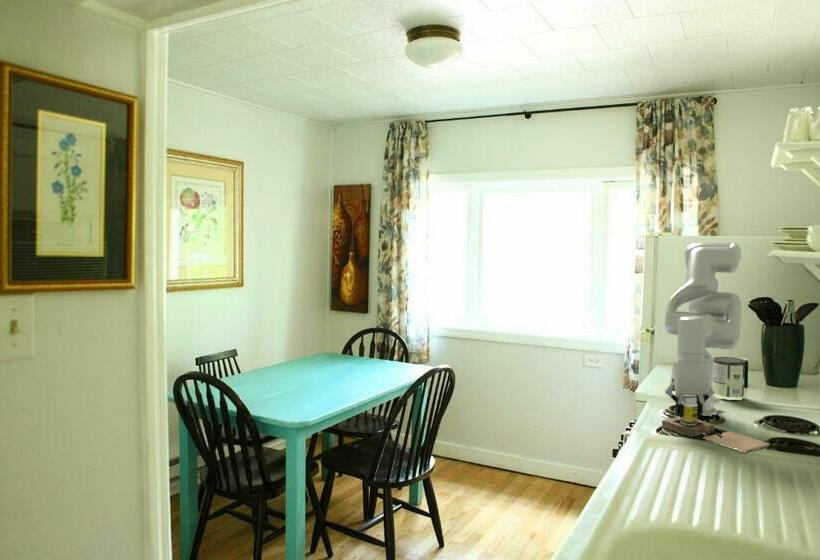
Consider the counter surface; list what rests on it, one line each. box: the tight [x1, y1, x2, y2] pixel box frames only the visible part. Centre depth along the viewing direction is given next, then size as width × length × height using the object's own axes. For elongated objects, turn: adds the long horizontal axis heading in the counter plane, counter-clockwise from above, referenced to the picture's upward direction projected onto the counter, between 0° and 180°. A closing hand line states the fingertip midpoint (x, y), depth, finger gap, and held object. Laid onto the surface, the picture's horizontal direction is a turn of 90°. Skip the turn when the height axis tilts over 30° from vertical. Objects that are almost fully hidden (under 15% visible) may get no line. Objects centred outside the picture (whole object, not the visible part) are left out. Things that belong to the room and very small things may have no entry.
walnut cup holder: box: [661, 416, 716, 438], centre depth 182 cm, size 10×10×2 cm
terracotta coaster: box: [702, 431, 770, 452], centre depth 171 cm, size 12×12×1 cm
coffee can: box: [712, 356, 746, 397], centre depth 218 cm, size 10×10×14 cm
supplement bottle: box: [679, 395, 698, 427], centre depth 182 cm, size 5×5×8 cm
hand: (688, 415), depth 183 cm, fingers closed on supplement bottle, 4 cm apart
